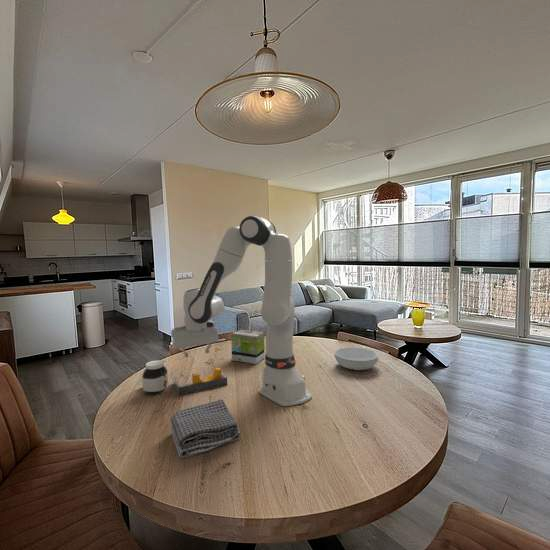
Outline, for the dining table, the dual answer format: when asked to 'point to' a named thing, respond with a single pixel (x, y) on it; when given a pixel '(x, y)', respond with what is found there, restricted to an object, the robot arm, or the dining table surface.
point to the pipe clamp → (212, 377)
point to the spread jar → (154, 377)
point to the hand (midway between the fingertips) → (196, 354)
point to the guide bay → (199, 385)
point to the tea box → (247, 346)
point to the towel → (203, 428)
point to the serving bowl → (356, 358)
